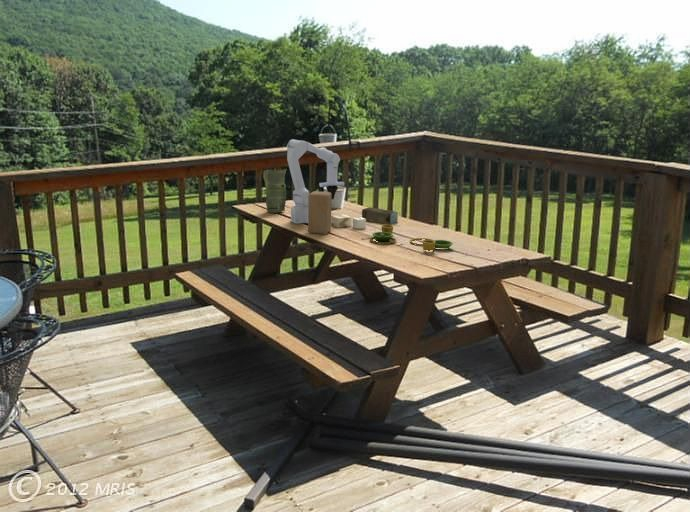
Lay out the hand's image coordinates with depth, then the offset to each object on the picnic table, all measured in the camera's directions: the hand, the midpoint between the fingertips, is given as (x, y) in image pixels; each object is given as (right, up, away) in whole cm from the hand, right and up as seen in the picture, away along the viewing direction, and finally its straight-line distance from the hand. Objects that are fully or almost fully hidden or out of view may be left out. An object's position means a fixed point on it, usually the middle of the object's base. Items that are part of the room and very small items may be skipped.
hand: (331, 199), depth 371 cm
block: (-6, -20, -33) cm, 39 cm away
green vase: (-33, -6, +16) cm, 37 cm away
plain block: (+5, -15, -16) cm, 23 cm away
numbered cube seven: (+15, -17, -21) cm, 31 cm away
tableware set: (+37, -26, -53) cm, 70 cm away
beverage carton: (+26, -13, -3) cm, 29 cm away
